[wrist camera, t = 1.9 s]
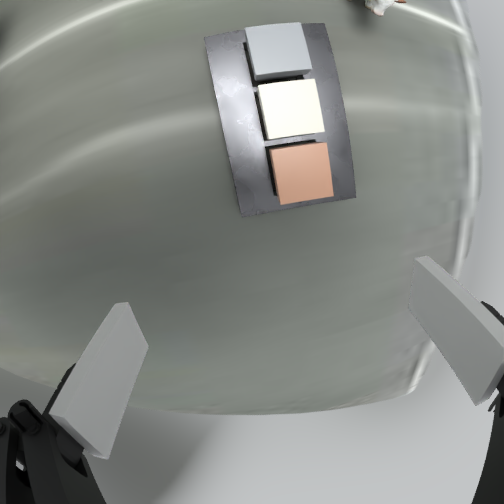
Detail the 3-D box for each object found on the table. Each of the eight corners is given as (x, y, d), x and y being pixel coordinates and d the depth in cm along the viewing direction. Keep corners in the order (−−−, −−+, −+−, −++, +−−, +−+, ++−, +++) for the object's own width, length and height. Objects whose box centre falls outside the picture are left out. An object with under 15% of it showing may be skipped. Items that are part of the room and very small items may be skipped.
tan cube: (266, 147, 26) (271, 150, 21) (312, 141, 25) (326, 142, 21) (274, 192, 28) (280, 204, 23) (318, 185, 27) (333, 196, 22)
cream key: (255, 94, 24) (258, 85, 19) (302, 88, 23) (314, 78, 18) (264, 139, 25) (269, 139, 21) (310, 132, 25) (324, 131, 20)
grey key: (245, 46, 21) (244, 27, 17) (291, 40, 21) (300, 22, 16) (254, 86, 23) (255, 75, 18) (300, 80, 23) (312, 68, 18)
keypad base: (207, 46, 23) (203, 37, 20) (317, 32, 22) (324, 23, 19) (242, 209, 30) (241, 217, 28) (346, 191, 30) (356, 197, 27)
